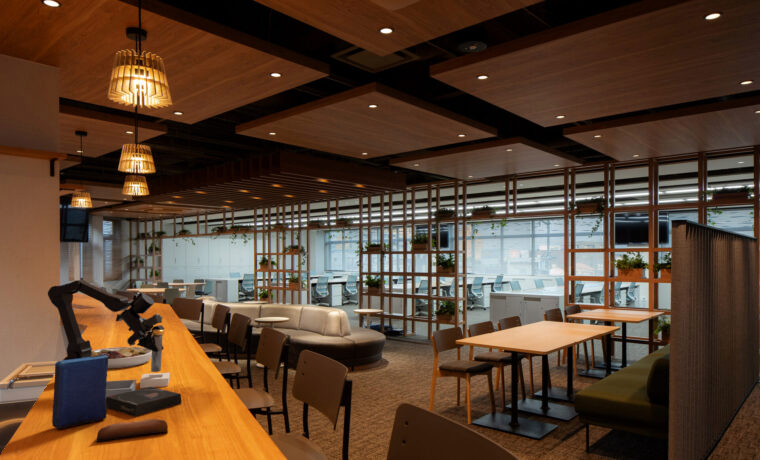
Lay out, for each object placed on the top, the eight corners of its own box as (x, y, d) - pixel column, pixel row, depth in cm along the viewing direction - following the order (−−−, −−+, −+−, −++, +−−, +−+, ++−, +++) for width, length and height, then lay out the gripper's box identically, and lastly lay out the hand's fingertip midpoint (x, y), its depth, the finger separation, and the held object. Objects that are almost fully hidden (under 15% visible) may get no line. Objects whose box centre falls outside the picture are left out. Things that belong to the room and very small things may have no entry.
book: (102, 416, 156) (105, 352, 157) (109, 420, 152) (112, 354, 154) (49, 428, 145) (53, 358, 146) (56, 432, 141) (60, 361, 142)
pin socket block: (139, 387, 190) (140, 379, 190) (142, 381, 200) (143, 374, 200) (168, 386, 194) (168, 378, 194) (169, 380, 203) (169, 372, 203)
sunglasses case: (165, 424, 150) (167, 408, 147) (166, 443, 144) (168, 426, 141) (97, 433, 141) (97, 416, 139) (95, 453, 136) (96, 436, 133)
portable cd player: (181, 405, 171) (182, 393, 171) (135, 418, 156) (136, 405, 157) (151, 397, 179) (152, 386, 180) (105, 409, 165) (106, 396, 165)
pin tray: (87, 401, 171) (88, 391, 171) (95, 391, 184) (96, 381, 184) (131, 398, 176) (131, 388, 176) (135, 388, 189) (136, 379, 189)
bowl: (84, 359, 240) (85, 342, 241) (152, 355, 253) (152, 339, 253) (75, 372, 213) (76, 354, 214) (152, 367, 226) (153, 350, 226)
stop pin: (149, 372, 194) (151, 331, 195) (150, 370, 198) (152, 329, 199) (161, 371, 195) (163, 331, 196) (162, 369, 200) (164, 329, 201)
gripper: (136, 310, 189) (163, 340, 188) (160, 305, 208) (185, 333, 207) (115, 330, 189) (142, 360, 188) (141, 324, 208) (166, 351, 207)
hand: (160, 350), depth 197 cm, fingers closed on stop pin, 4 cm apart
